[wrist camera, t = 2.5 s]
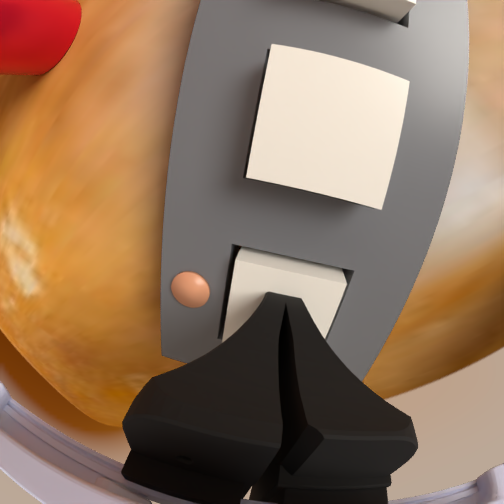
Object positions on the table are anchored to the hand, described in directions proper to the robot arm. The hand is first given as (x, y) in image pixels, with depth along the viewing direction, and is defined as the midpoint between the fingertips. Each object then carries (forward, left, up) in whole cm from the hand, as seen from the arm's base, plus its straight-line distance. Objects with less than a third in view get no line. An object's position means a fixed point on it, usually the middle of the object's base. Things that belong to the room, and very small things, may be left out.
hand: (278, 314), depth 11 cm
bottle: (+16, -12, -3) cm, 20 cm away
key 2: (0, 0, -4) cm, 4 cm away
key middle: (0, -7, -3) cm, 8 cm away
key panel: (0, -7, -3) cm, 8 cm away
